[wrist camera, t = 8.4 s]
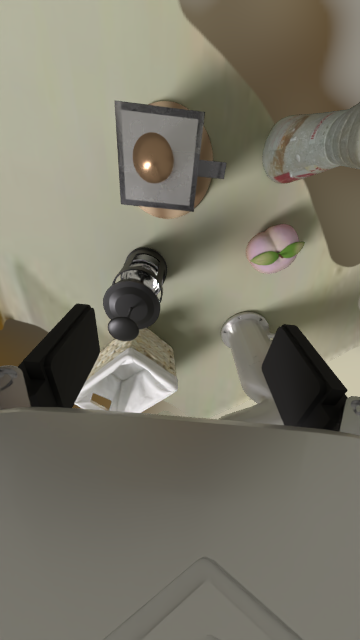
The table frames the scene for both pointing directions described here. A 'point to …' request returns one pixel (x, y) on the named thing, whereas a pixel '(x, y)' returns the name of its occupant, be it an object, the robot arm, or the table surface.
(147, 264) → the french press
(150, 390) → the storage basket
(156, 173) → the plunger
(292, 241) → the decorative fruit
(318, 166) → the bottle
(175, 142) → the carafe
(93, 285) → the table surface
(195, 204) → the coaster
